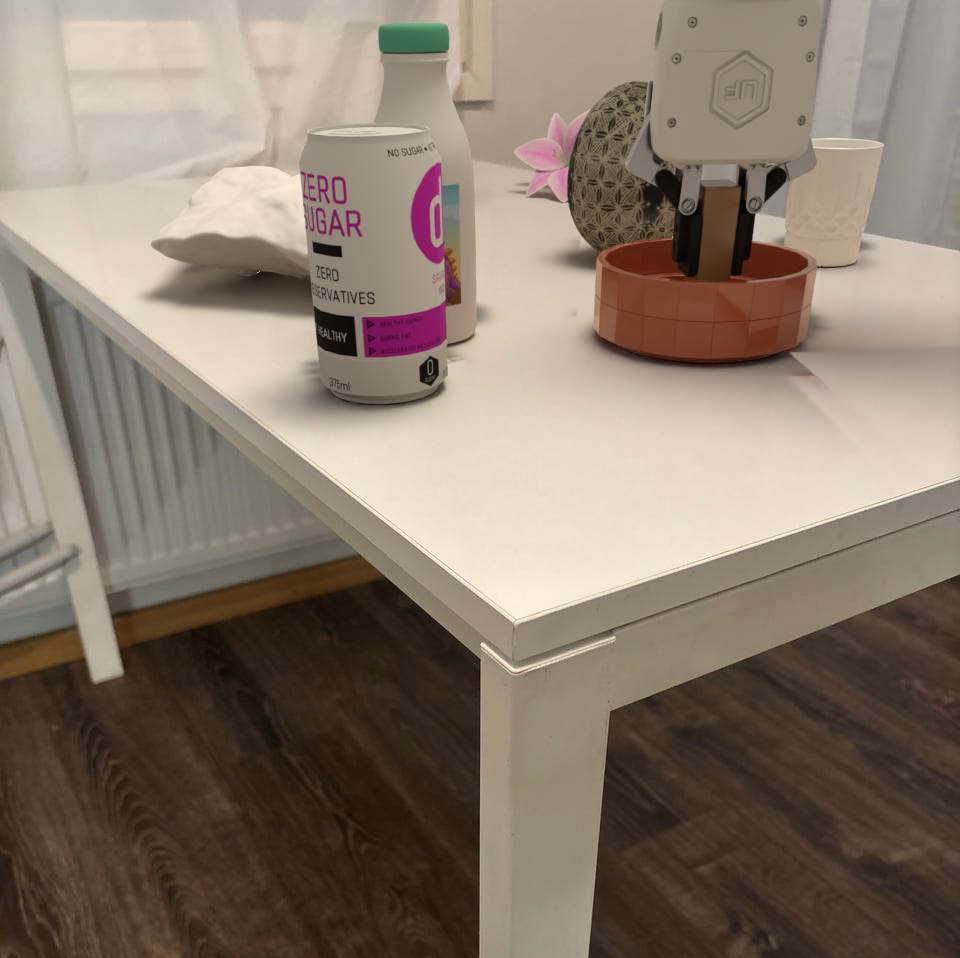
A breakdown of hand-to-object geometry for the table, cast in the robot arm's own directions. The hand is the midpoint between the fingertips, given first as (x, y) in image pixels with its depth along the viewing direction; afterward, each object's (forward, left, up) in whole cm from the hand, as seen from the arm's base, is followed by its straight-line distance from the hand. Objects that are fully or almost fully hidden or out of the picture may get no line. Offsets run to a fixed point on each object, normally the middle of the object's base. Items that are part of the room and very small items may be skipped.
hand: (708, 269), depth 71 cm
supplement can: (+23, +7, -5) cm, 25 cm away
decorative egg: (0, -29, -5) cm, 29 cm away
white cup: (-18, -26, -5) cm, 32 cm away
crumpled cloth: (+32, -26, -5) cm, 42 cm away
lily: (+1, -67, -5) cm, 67 cm away
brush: (0, 0, -4) cm, 4 cm away
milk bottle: (+20, -5, -5) cm, 21 cm away
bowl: (0, -2, -5) cm, 5 cm away
